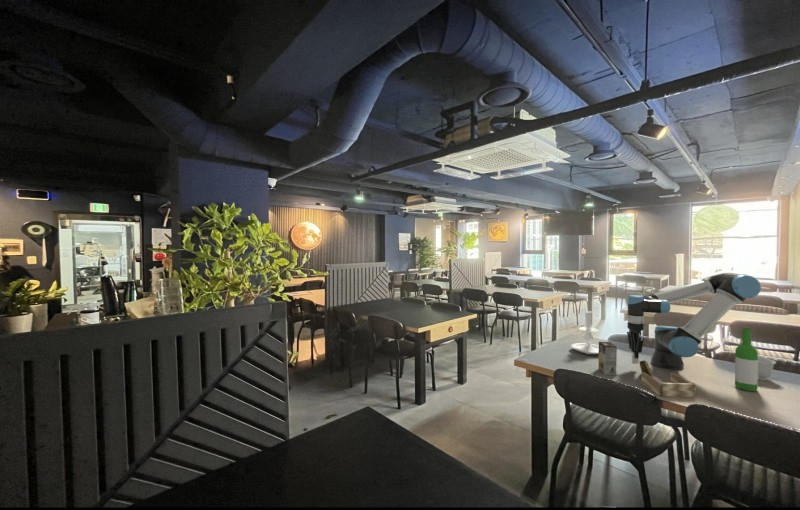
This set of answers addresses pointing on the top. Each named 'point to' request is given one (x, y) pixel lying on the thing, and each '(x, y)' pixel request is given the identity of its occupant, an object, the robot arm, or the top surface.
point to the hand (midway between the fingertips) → (635, 363)
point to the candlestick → (587, 337)
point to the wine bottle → (746, 364)
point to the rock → (645, 367)
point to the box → (669, 386)
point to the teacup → (765, 367)
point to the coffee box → (607, 358)
